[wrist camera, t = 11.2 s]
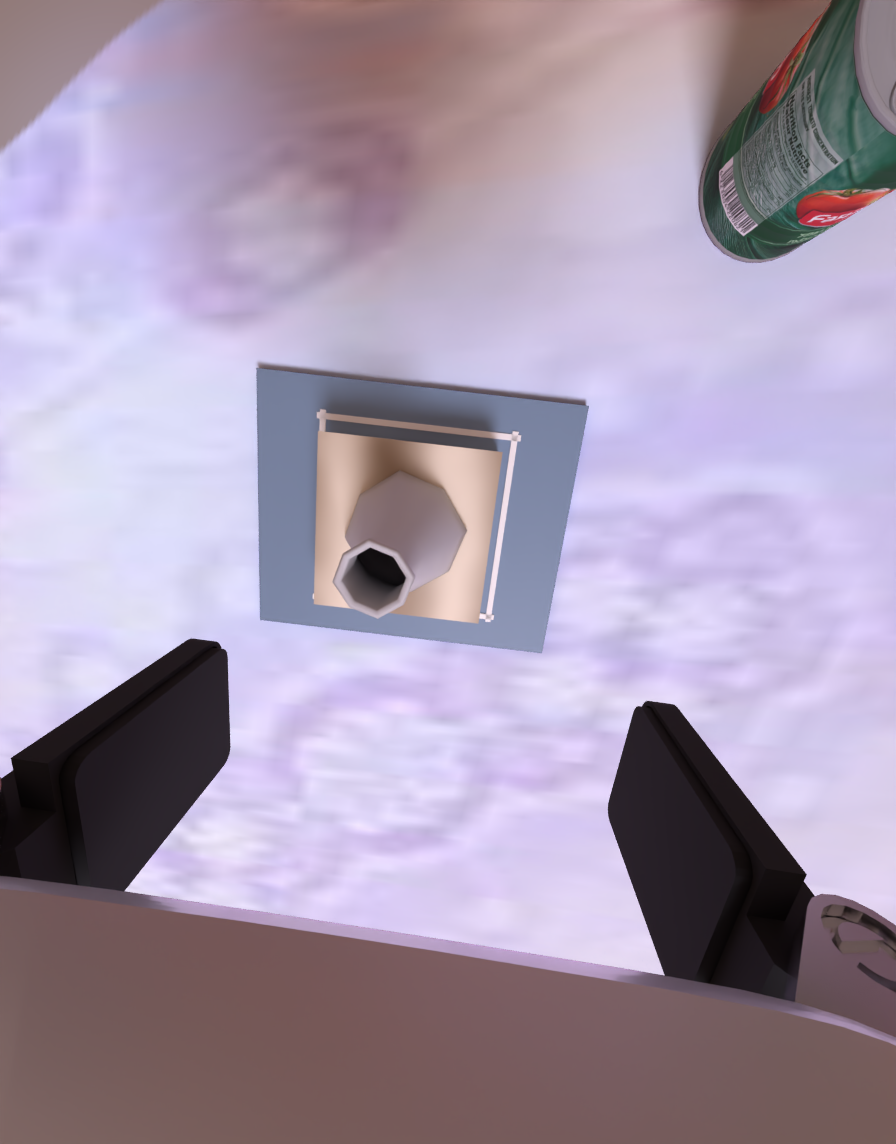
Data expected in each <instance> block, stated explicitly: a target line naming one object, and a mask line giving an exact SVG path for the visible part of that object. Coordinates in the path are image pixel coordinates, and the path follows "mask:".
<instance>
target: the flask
mask: <svg viewBox="0 0 896 1144" xmlns="http://www.w3.org/2000/svg"><path fill="white" fill-rule="evenodd" d="M466 532H467V529H466V527H465V525H464V524H463V522H462V520H461V518H460V517H459V515H458V513H457V511H456V510H455V508H454V506H453V504H452V503H451V501H450V499H449V497H448V496H447V494H446V492H445V490H444V489H442V488H439V487H437V486H435V485H432V484H430V483H428V482H425V481H423V480H421V479H419V478H416V477H414V476H412V475H409V474H407V473H405V472H403V471H400V470H399V471H398V472H396V473H395V474H393V475H391V476H390V477H388V478H386V479H385V480H383V481H381V482H380V483H378V484H376V485H375V486H373V487H371V488H370V489H368V490H366V491H365V492H363V493H362V494H360V496H359V499H358V501H357V504H356V507H355V510H354V512H353V515H352V518H351V521H350V523H349V526H348V529H347V532H346V534H345V539H346V541H347V543H348V544H349V546H350V548H351V549H349V550H348V551H346V552H344V553H343V554H342V557H341V559H340V562H339V565H338V568H337V570H336V573H335V576H334V579H333V581H332V582H333V584H334V585H335V587H336V588H337V590H338V591H339V593H340V594H341V596H342V597H343V599H344V600H345V602H346V603H347V605H348V606H349V607H350V608H352V609H355V610H357V611H360V612H362V613H365V614H367V615H370V616H372V617H374V618H377V619H378V618H380V617H382V616H384V615H386V614H388V613H389V612H391V611H393V610H395V609H397V608H399V607H401V606H402V605H404V603H405V601H406V598H407V596H408V594H409V592H412V591H414V590H416V589H417V588H419V587H421V586H423V585H425V584H427V583H428V582H430V581H432V580H434V579H436V578H438V577H439V576H441V575H443V574H445V573H447V572H449V570H450V568H451V566H452V564H453V561H454V559H455V557H456V555H457V552H458V550H459V548H460V546H461V543H462V541H463V539H464V537H465V534H466Z"/></svg>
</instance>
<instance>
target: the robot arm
mask: <svg viewBox="0 0 896 1144" xmlns="http://www.w3.org/2000/svg"><path fill="white" fill-rule="evenodd" d="M229 753H230V722H229V690H228V658H227V652H226V650H224V649H221V646H220V644H219V643H218V642H214V641H207V640H200V639H189V640H187V641H185V642H184V643H182V644H181V645H179V646H178V647H176V648H175V649H173V650H172V651H170V652H169V653H167V654H166V655H165V656H163V657H162V658H160V659H159V660H157V661H156V662H154V663H153V664H151V665H150V666H148V667H147V668H145V669H144V670H142V671H141V672H139V673H138V674H136V675H135V676H133V677H132V678H130V679H129V680H127V681H126V682H124V683H123V684H121V685H120V686H118V687H117V688H115V689H114V690H112V691H111V692H109V693H108V694H106V695H105V696H103V697H102V698H100V699H99V700H97V701H96V702H94V703H93V704H91V705H90V706H88V707H87V708H85V709H84V710H82V711H81V712H79V713H78V714H76V715H75V716H73V717H72V718H70V719H69V720H67V721H66V722H64V723H63V724H61V725H60V726H58V727H57V728H55V729H54V730H52V731H51V732H49V733H48V734H46V735H45V736H43V737H42V738H40V739H39V740H37V741H36V742H34V743H33V744H31V745H30V746H28V747H27V748H25V749H24V750H22V751H21V752H19V753H18V754H16V755H15V756H13V757H12V758H11V761H12V766H13V771H12V772H10V773H9V774H7V775H6V776H4V777H3V778H2V779H1V778H0V1144H896V926H895V925H894V924H893V923H891V922H890V921H888V920H887V919H885V918H884V917H882V916H881V915H879V914H878V913H876V912H875V911H873V910H871V909H869V908H867V907H865V906H863V905H861V904H859V903H857V902H855V901H853V900H850V899H847V898H843V897H840V896H837V895H829V894H820V895H817V896H814V894H813V893H812V892H811V891H810V889H809V888H808V887H807V885H806V884H805V883H804V879H805V877H806V875H807V874H806V873H805V872H804V871H803V869H802V868H801V867H800V865H799V864H798V863H797V862H796V860H795V859H794V858H793V856H792V855H791V854H790V852H789V851H788V850H787V849H786V847H785V846H784V845H783V843H782V842H781V841H780V840H779V838H778V837H777V836H776V834H775V833H774V832H773V830H772V829H771V828H770V827H769V825H768V824H767V823H766V821H765V820H764V819H763V818H762V816H761V815H760V814H759V812H758V811H757V810H756V809H755V807H754V806H753V805H752V803H751V802H750V801H749V799H748V798H747V797H746V796H745V794H744V793H743V792H742V790H741V789H740V788H739V787H738V785H737V784H736V783H735V781H734V780H733V779H732V778H731V776H730V775H729V774H728V772H727V771H726V770H725V768H724V767H723V766H722V765H721V763H720V762H719V761H718V759H717V758H716V757H715V756H714V754H713V753H712V752H711V750H710V749H709V748H708V747H707V745H706V744H705V743H704V741H703V740H702V739H701V737H700V736H699V735H698V734H697V732H696V731H695V730H694V728H693V727H692V726H691V725H690V723H689V722H688V721H687V719H686V718H685V717H684V715H683V714H682V713H681V712H680V710H679V709H678V708H677V707H676V706H675V705H673V704H666V703H659V702H652V701H646V702H645V703H644V704H643V706H642V707H640V706H638V707H636V708H635V710H634V712H633V716H632V720H631V723H630V727H629V730H628V734H627V738H626V741H625V745H624V748H623V752H622V756H621V759H620V763H619V766H618V770H617V774H616V777H615V781H614V784H613V788H612V792H611V795H610V799H609V803H608V815H609V820H610V823H611V826H612V829H613V832H614V835H615V837H616V840H617V843H618V846H619V849H620V851H621V854H622V857H623V860H624V863H625V865H626V868H627V871H628V874H629V877H630V879H631V882H632V885H633V888H634V891H635V893H636V896H637V899H638V902H639V904H640V907H641V910H642V913H643V916H644V918H645V921H646V924H647V927H648V930H649V932H650V935H651V938H652V941H653V944H654V946H655V949H656V952H657V955H658V958H659V960H660V963H661V966H662V969H663V972H664V974H665V976H663V975H658V974H652V973H647V972H641V971H636V970H630V969H624V968H618V967H611V966H605V965H599V964H593V963H586V962H580V961H574V960H568V959H562V958H555V957H549V956H543V955H537V954H530V953H524V952H518V951H512V950H506V949H499V948H493V947H487V946H481V945H474V944H468V943H462V942H455V941H449V940H442V939H436V938H430V937H423V936H417V935H410V934H404V933H397V932H391V931H384V930H378V929H371V928H365V927H358V926H352V925H345V924H339V923H332V922H326V921H319V920H313V919H306V918H300V917H293V916H287V915H280V914H273V913H267V912H260V911H253V910H246V909H240V908H233V907H226V906H219V905H212V904H206V903H199V902H192V901H185V900H178V899H172V898H165V897H158V896H151V895H145V894H138V893H131V892H124V891H125V889H126V888H127V887H128V886H129V884H130V883H131V882H132V881H133V879H134V878H135V877H136V876H137V874H138V873H139V872H140V871H141V869H142V868H143V867H144V866H145V864H146V863H147V862H148V860H149V859H150V858H151V857H152V855H153V854H154V853H155V852H156V850H157V849H158V848H159V847H160V845H161V844H162V843H163V842H164V840H165V839H166V838H167V837H168V835H169V834H170V833H171V831H172V830H173V829H174V828H175V826H176V825H177V824H178V823H179V821H180V820H181V819H182V818H183V816H184V815H185V814H186V813H187V811H188V810H189V809H190V807H191V806H192V805H193V804H194V802H195V801H196V800H197V799H198V797H199V796H200V795H201V794H202V792H203V791H204V790H205V789H206V787H207V786H208V785H209V784H210V782H211V781H212V780H213V778H214V777H215V776H216V775H217V773H218V772H219V771H220V770H221V768H222V767H223V766H224V764H225V763H226V761H227V759H228V756H229Z"/></svg>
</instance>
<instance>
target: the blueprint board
mask: <svg viewBox="0 0 896 1144" xmlns="http://www.w3.org/2000/svg"><path fill="white" fill-rule="evenodd" d="M588 408H589V406H585V405H576V404H567V403H558V402H550V401H541V400H532V399H523V398H515V397H506V396H497V395H488V394H480V393H471V392H462V391H453V390H445V389H436V388H427V387H418V386H410V385H401V384H392V383H383V382H375V381H366V380H357V379H348V378H340V377H331V376H322V375H313V374H305V373H296V372H287V371H278V370H270V369H261V368H257V434H258V505H259V576H260V620H266V621H275V622H283V623H291V624H300V625H308V626H317V627H325V628H334V629H342V630H350V631H359V632H367V633H376V634H384V635H392V636H401V637H409V638H418V639H426V640H435V641H443V642H451V643H460V644H468V645H477V646H485V647H494V648H502V649H510V650H519V651H527V652H536V653H542V650H543V645H544V639H545V634H546V629H547V624H548V618H549V613H550V608H551V603H552V597H553V592H554V587H555V582H556V576H557V571H558V566H559V561H560V555H561V550H562V545H563V539H564V534H565V529H566V524H567V518H568V513H569V508H570V503H571V497H572V492H573V487H574V482H575V476H576V471H577V466H578V461H579V455H580V450H581V445H582V440H583V434H584V429H585V424H586V419H587V413H588ZM318 431H323V432H333V433H342V434H350V435H359V436H368V437H376V438H385V439H394V440H402V441H411V442H420V443H429V444H437V445H446V446H455V447H463V448H472V449H481V450H489V451H498V452H503V453H502V460H501V468H500V475H499V482H498V489H497V496H496V503H495V510H494V517H493V524H492V531H491V538H490V545H489V553H488V560H487V567H486V574H485V581H484V588H483V595H482V602H481V609H480V616H479V623H478V624H477V623H469V622H461V621H452V620H444V619H435V618H427V617H418V616H410V615H401V614H393V613H388V614H386V615H384V616H382V617H380V618H378V619H377V618H374V617H372V616H370V615H367V614H365V613H362V612H360V611H357V610H355V609H351V608H342V607H334V606H325V605H317V604H314V576H315V534H316V492H317V449H318Z"/></svg>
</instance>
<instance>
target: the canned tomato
mask: <svg viewBox="0 0 896 1144" xmlns="http://www.w3.org/2000/svg"><path fill="white" fill-rule="evenodd" d="M895 189H896V0H832V1H831V2H830V4H829V5H828V6H827V8H826V9H825V11H824V12H823V13H822V14H821V15H820V16H819V17H818V18H817V19H816V21H815V22H814V23H813V25H812V26H811V27H810V29H809V30H808V31H807V32H806V33H805V34H804V35H803V36H802V38H801V39H800V40H799V42H798V43H797V44H796V46H795V47H794V48H793V49H792V50H791V51H790V52H789V53H788V55H787V56H786V57H785V59H784V60H783V62H782V63H781V64H780V65H779V66H778V67H777V68H776V69H775V71H774V72H773V73H772V75H771V76H770V77H769V78H768V79H767V80H766V81H765V83H764V84H763V85H762V87H761V88H760V90H759V91H758V92H757V93H756V94H755V95H754V96H753V98H752V99H751V100H750V102H749V103H748V104H747V105H746V106H745V107H744V108H743V110H742V111H741V113H740V114H739V115H738V116H737V118H736V119H735V120H734V121H733V122H732V123H731V124H730V125H729V126H728V127H727V128H726V129H725V131H724V132H723V133H722V135H721V136H720V137H719V139H718V140H717V142H716V143H715V145H714V147H713V149H712V151H711V153H710V155H709V157H708V159H707V161H706V164H705V167H704V170H703V173H702V177H701V184H700V190H699V208H700V213H701V218H702V222H703V225H704V227H705V230H706V232H707V234H708V236H709V237H710V239H711V240H712V242H713V243H714V245H715V246H716V247H717V248H719V249H720V250H721V251H722V252H723V253H724V254H726V255H728V256H730V257H731V258H733V259H735V260H739V261H743V262H748V263H761V262H766V261H772V260H775V259H777V258H780V257H782V256H785V255H787V254H789V253H790V252H792V251H794V250H795V249H797V248H798V247H800V246H801V245H802V244H804V243H806V242H808V241H810V240H811V239H813V238H814V237H816V236H818V235H819V234H821V233H823V232H825V231H826V230H828V229H829V228H831V227H833V226H835V225H836V224H838V223H840V222H841V221H843V220H845V219H847V218H848V217H850V216H851V215H853V214H855V213H856V212H858V211H860V210H862V209H863V208H865V207H866V206H868V205H870V204H871V203H873V202H875V201H877V200H878V199H880V198H881V197H883V196H885V195H886V194H888V193H890V192H892V191H893V190H895Z"/></svg>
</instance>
